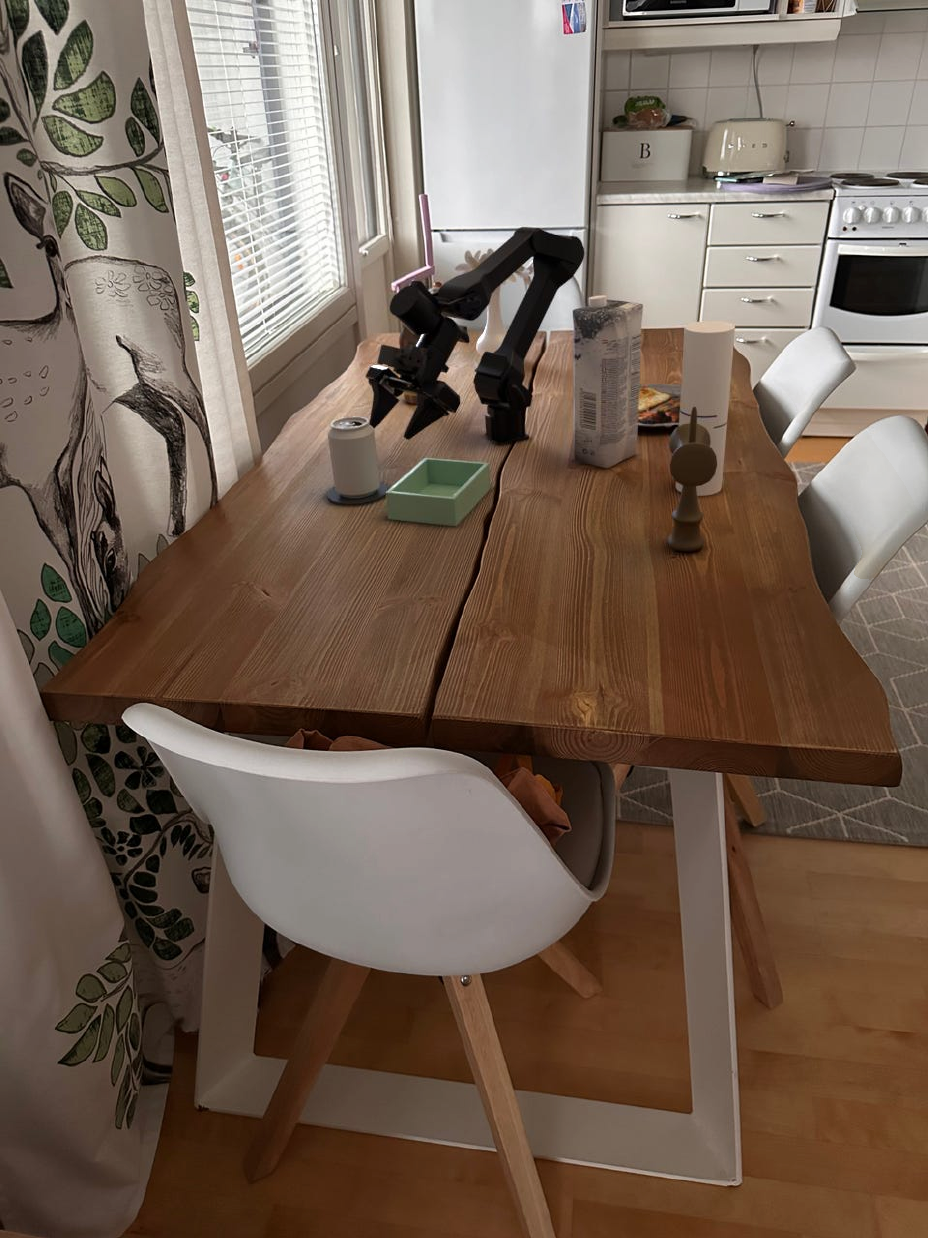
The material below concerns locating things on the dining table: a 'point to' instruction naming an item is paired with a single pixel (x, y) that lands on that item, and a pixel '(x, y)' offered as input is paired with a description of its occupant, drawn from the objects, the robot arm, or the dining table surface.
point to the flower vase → (493, 303)
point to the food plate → (659, 405)
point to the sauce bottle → (404, 340)
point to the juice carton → (606, 380)
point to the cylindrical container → (708, 387)
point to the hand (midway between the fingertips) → (388, 432)
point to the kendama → (690, 480)
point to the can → (354, 457)
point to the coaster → (345, 501)
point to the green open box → (438, 491)
